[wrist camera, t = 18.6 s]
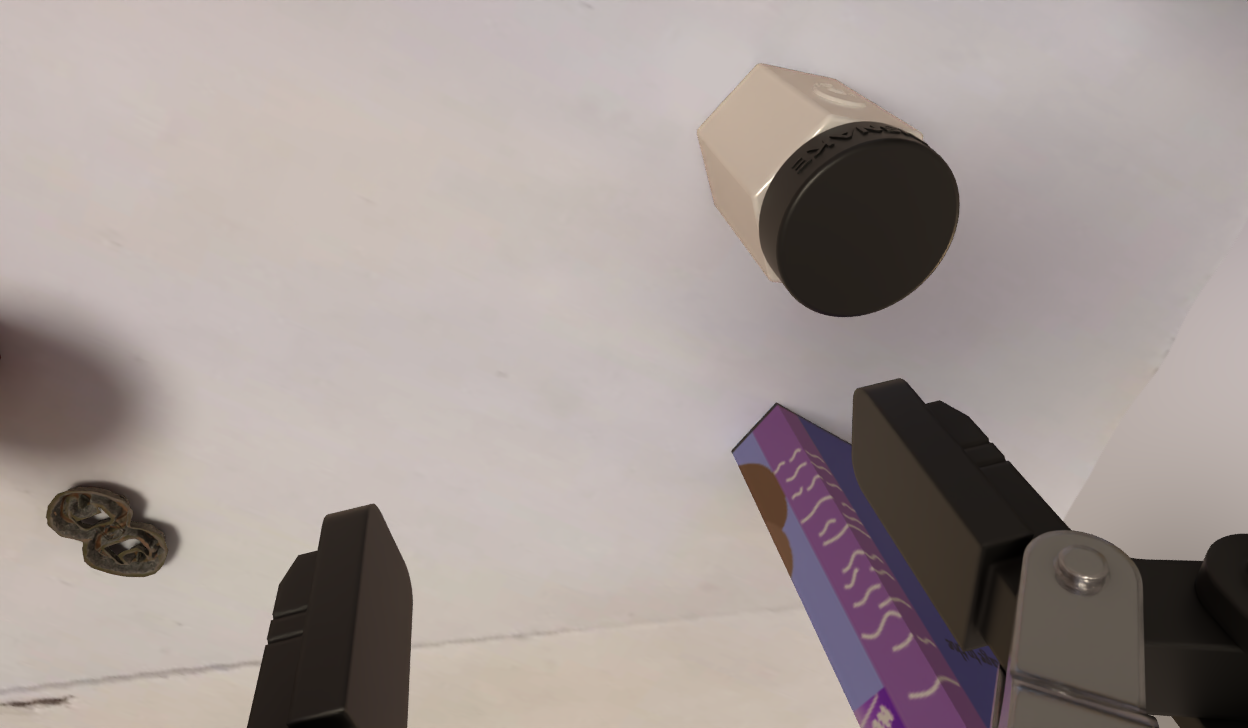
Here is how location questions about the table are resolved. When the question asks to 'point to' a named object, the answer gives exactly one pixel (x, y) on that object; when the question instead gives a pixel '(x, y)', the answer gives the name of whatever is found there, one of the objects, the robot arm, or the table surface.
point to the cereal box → (860, 584)
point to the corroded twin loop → (107, 531)
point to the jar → (828, 190)
